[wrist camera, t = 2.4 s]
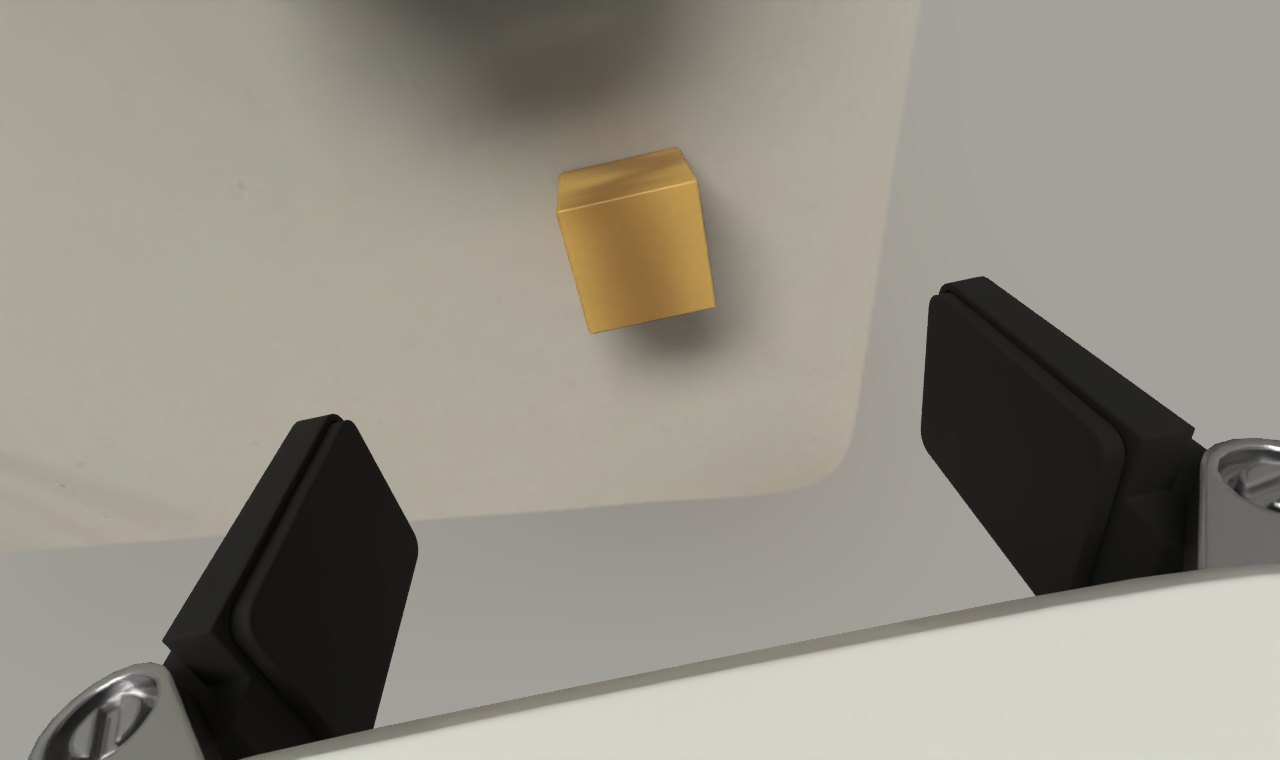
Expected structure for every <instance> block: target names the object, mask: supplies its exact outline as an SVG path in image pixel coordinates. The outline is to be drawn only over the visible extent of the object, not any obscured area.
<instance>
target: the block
mask: <svg viewBox="0 0 1280 760" xmlns="http://www.w3.org/2000/svg"><path fill="white" fill-rule="evenodd" d="M556 215H557V218H558V222H559V225H560V229H561V233H562V236H563V240H564V243H565V247H566V251H567V254H568V258H569V261H570V265H571V269H572V272H573V276H574V279H575V283H576V287H577V290H578V294H579V297H580V301H581V305H582V308H583V312H584V316H585V319H586V323H587V326H588V330H589V333H590V334H596V333H600V332H605V331H609V330H614V329H619V328H623V327H628V326H632V325H637V324H642V323H646V322H651V321H655V320H660V319H665V318H669V317H674V316H678V315H683V314H688V313H692V312H697V311H701V310H706V309H711V308H714V307H716V301H715V294H714V287H713V280H712V274H711V267H710V260H709V253H708V247H707V240H706V233H705V226H704V220H703V213H702V206H701V199H700V193H699V186H698V181H697V179H696V178H695V176H694V174H693V172H692V171H691V169H690V167H689V166H688V164H687V162H686V160H685V159H684V157H683V155H682V153H681V152H680V150H679V148H678V147H674V148H670V149H666V150H661V151H657V152H652V153H648V154H644V155H639V156H635V157H630V158H626V159H622V160H617V161H613V162H608V163H604V164H600V165H595V166H591V167H586V168H582V169H578V170H573V171H569V172H564V173H561V174H560V175H559V186H558V198H557V210H556Z"/></svg>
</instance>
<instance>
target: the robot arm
mask: <svg viewBox="0 0 1280 760" xmlns="http://www.w3.org/2000/svg"><path fill="white" fill-rule="evenodd" d="M1194 430H1195V428H1194V427H1192V426H1191V425H1190V424H1188V423H1187V422H1186V421H1184V420H1183V419H1181V418H1180V417H1178V416H1177V415H1176V414H1175V413H1173V412H1172V411H1170V410H1169V409H1167V408H1166V407H1165V406H1163V405H1162V404H1160V403H1159V402H1158V401H1157V400H1155V399H1154V398H1152V397H1151V396H1150V395H1148V394H1147V393H1146V392H1144V391H1143V390H1141V389H1140V388H1139V387H1137V386H1136V385H1135V384H1133V383H1132V382H1130V381H1129V380H1128V379H1126V378H1125V377H1123V376H1122V375H1121V374H1119V373H1118V372H1117V371H1115V370H1114V369H1112V368H1111V367H1110V366H1108V365H1107V364H1105V363H1104V362H1103V361H1101V360H1100V359H1099V358H1097V357H1096V356H1094V355H1093V354H1092V353H1090V352H1089V351H1088V350H1086V349H1085V348H1083V347H1082V346H1081V345H1079V344H1078V343H1076V342H1075V341H1074V340H1072V339H1071V338H1070V337H1068V336H1067V335H1065V334H1064V333H1063V332H1061V331H1060V330H1059V329H1057V328H1056V327H1054V326H1053V325H1052V324H1050V323H1049V322H1047V321H1046V320H1044V319H1043V318H1042V317H1041V316H1039V315H1038V314H1036V313H1035V312H1034V311H1032V310H1031V309H1029V308H1028V307H1027V306H1025V305H1024V304H1023V303H1021V302H1020V301H1018V300H1017V299H1016V298H1014V297H1013V296H1011V295H1010V294H1009V293H1007V292H1006V291H1005V290H1003V289H1002V288H1000V287H999V286H997V285H996V284H995V283H994V282H992V281H991V280H989V279H988V278H986V277H984V276H983V277H975V278H971V279H967V280H961V281H957V282H952V283H947V284H944V285H943V286H942V287H941V289H940V291H939V295H934V296H933V297H932V298H931V300H930V303H929V313H928V327H927V343H926V358H925V373H924V388H923V403H922V418H921V436H922V440H923V444H924V446H925V448H926V450H927V452H928V453H929V455H930V456H931V457H932V459H933V460H934V461H935V462H936V464H937V465H938V467H939V468H940V469H941V471H942V472H943V473H944V474H945V476H946V477H947V478H948V480H949V481H950V482H951V484H952V485H953V486H954V488H955V489H956V490H957V492H958V493H959V494H960V496H961V497H962V498H963V500H964V501H965V502H966V504H967V505H968V506H969V508H970V509H971V510H972V512H973V513H974V514H975V516H976V517H977V518H978V520H979V521H980V522H981V523H982V525H983V526H984V527H985V529H986V530H987V531H988V533H989V534H990V536H991V537H992V538H993V539H994V541H995V542H996V544H997V545H998V546H999V547H1000V549H1001V550H1002V552H1003V553H1004V554H1005V556H1006V557H1007V558H1008V559H1009V561H1010V562H1011V563H1012V565H1013V566H1014V567H1015V569H1016V570H1017V571H1018V573H1019V574H1020V575H1021V577H1022V578H1023V579H1024V581H1025V582H1026V583H1027V585H1028V586H1029V587H1030V589H1031V590H1032V591H1033V593H1034V594H1035V595H1036V596H1034V597H1028V598H1024V599H1018V600H1012V601H1006V602H1001V603H996V604H991V605H985V606H981V607H975V608H971V609H966V610H960V611H955V612H950V613H945V614H939V615H934V616H929V617H924V618H919V619H914V620H909V621H904V622H898V623H893V624H889V625H883V626H878V627H873V628H868V629H863V630H858V631H852V632H847V633H842V634H837V635H833V636H827V637H822V638H817V639H812V640H806V641H802V642H797V643H791V644H786V645H781V646H777V647H772V648H766V649H762V650H757V651H752V652H747V653H742V654H737V655H732V656H727V657H722V658H717V659H712V660H707V661H702V662H697V663H692V664H687V665H682V666H677V667H672V668H667V669H662V670H657V671H652V672H648V673H643V674H637V675H632V676H628V677H623V678H617V679H612V680H607V681H602V682H598V683H593V684H588V685H583V686H578V687H573V688H568V689H563V690H558V691H554V692H549V693H544V694H539V695H534V696H529V697H524V698H520V699H515V700H510V701H505V702H500V703H496V704H491V705H486V706H481V707H476V708H471V709H467V710H462V711H457V712H452V713H447V714H442V715H437V716H433V717H428V718H423V719H418V720H413V721H409V722H404V723H399V724H394V725H389V726H384V727H379V728H376V729H373V727H374V723H375V720H376V716H377V712H378V708H379V704H380V700H381V697H382V693H383V689H384V685H385V681H386V677H387V674H388V670H389V666H390V661H391V658H392V654H393V650H394V646H395V642H396V639H397V635H398V631H399V627H400V623H401V619H402V616H403V611H404V608H405V604H406V600H407V596H408V592H409V589H410V585H411V581H412V577H413V573H414V569H415V565H416V561H417V557H418V543H417V540H416V536H415V534H414V532H413V530H412V528H411V526H410V525H409V523H408V521H407V519H406V517H405V515H404V513H403V512H402V510H401V508H400V506H399V504H398V502H397V501H396V499H395V497H394V495H393V493H392V491H391V490H390V488H389V486H388V484H387V482H386V480H385V479H384V477H383V475H382V473H381V471H380V469H379V467H378V466H377V464H376V462H375V460H374V458H373V456H372V455H371V453H370V451H369V449H368V447H367V445H366V444H365V442H364V440H363V438H362V436H361V434H360V433H359V431H358V429H357V427H356V426H355V424H354V423H353V422H352V421H350V420H345V421H343V419H342V418H341V417H339V416H338V415H336V414H330V415H325V416H321V417H316V418H311V419H307V420H302V421H298V422H296V423H295V424H294V425H293V427H292V429H291V430H290V432H289V433H288V435H287V437H286V438H285V440H284V442H283V443H282V445H281V447H280V448H279V450H278V451H277V453H276V455H275V456H274V458H273V460H272V461H271V463H270V465H269V466H268V468H267V469H266V471H265V473H264V474H263V476H262V478H261V479H260V481H259V483H258V484H257V486H256V487H255V489H254V491H253V492H252V494H251V496H250V497H249V499H248V501H247V502H246V504H245V505H244V507H243V509H242V510H241V512H240V514H239V515H238V517H237V519H236V520H235V522H234V524H233V525H232V527H231V528H230V530H229V532H228V533H227V535H226V537H225V538H224V540H223V542H222V543H221V545H220V546H219V548H218V550H217V551H216V553H215V555H214V557H213V558H212V560H211V561H210V563H209V564H208V566H207V568H206V569H205V571H204V573H203V574H202V576H201V578H200V579H199V581H198V582H197V584H196V586H195V587H194V589H193V591H192V592H191V594H190V596H189V597H188V599H187V600H186V602H185V604H184V605H183V607H182V609H181V610H180V612H179V614H178V615H177V617H176V618H175V620H174V622H173V624H172V625H171V627H170V629H169V630H168V632H167V633H166V635H165V637H164V638H163V640H162V642H163V643H164V644H165V645H166V646H167V647H168V648H169V649H170V650H171V652H170V654H169V655H168V657H167V659H166V660H165V662H164V664H163V665H160V664H156V663H152V662H149V663H142V664H135V665H131V666H129V667H126V668H124V669H121V670H118V671H116V672H113V673H112V674H110V675H108V676H107V677H105V678H103V679H101V680H99V681H97V682H96V683H94V684H92V685H91V686H90V687H88V688H87V689H86V690H84V691H83V692H82V693H81V694H79V695H78V696H77V697H75V698H74V699H73V700H71V701H70V702H69V703H68V704H67V705H66V706H65V707H64V708H63V709H62V710H61V711H60V712H59V713H58V714H57V715H56V716H55V717H54V718H53V719H52V721H51V722H50V723H49V724H48V726H47V727H46V729H45V730H44V731H43V732H42V734H41V735H40V736H39V738H38V740H37V741H36V743H35V745H34V747H33V749H32V751H31V753H30V755H29V757H28V760H1280V440H1270V439H1261V438H1245V439H1232V440H1228V441H1225V442H1221V443H1218V444H1215V445H1214V446H1212V447H1211V448H1209V449H1208V450H1206V449H1205V448H1204V447H1202V446H1201V445H1200V444H1198V443H1197V442H1196V441H1194V440H1193V439H1192V435H1193V433H1194Z"/></svg>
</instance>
